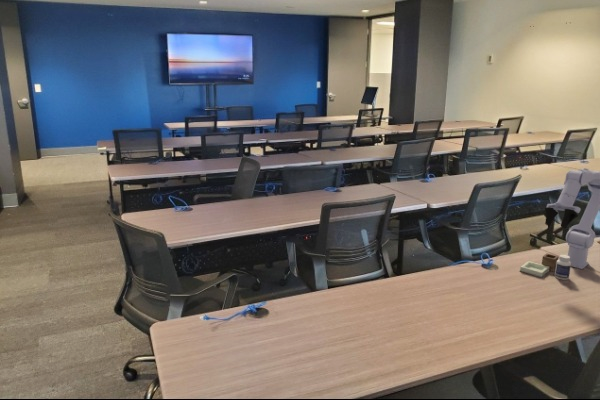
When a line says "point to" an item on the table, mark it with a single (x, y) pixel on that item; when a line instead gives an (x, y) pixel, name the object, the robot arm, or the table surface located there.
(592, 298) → the table surface
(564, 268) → the pill bottle
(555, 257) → the walnut block
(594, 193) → the robot arm
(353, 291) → the table surface
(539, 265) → the tray
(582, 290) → the table surface
